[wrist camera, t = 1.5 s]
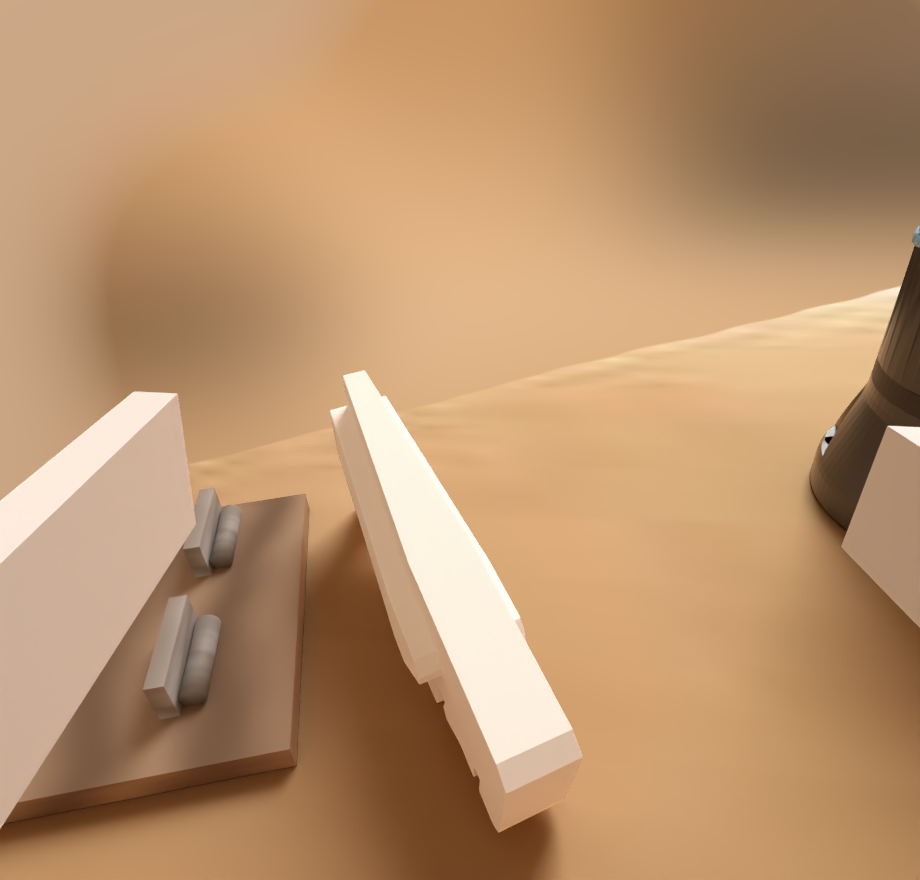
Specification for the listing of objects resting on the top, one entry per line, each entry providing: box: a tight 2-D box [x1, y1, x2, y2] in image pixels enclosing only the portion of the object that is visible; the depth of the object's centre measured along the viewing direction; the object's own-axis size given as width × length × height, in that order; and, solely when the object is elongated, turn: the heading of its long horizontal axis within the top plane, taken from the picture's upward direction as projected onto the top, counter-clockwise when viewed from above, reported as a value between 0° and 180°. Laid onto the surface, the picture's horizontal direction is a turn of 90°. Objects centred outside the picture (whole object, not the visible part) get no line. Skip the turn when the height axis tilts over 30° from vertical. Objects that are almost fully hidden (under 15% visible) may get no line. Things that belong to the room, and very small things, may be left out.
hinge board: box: [4, 488, 309, 824], centre depth 37 cm, size 20×20×4 cm
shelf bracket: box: [330, 371, 583, 833], centre depth 36 cm, size 6×25×13 cm, turn 23°
